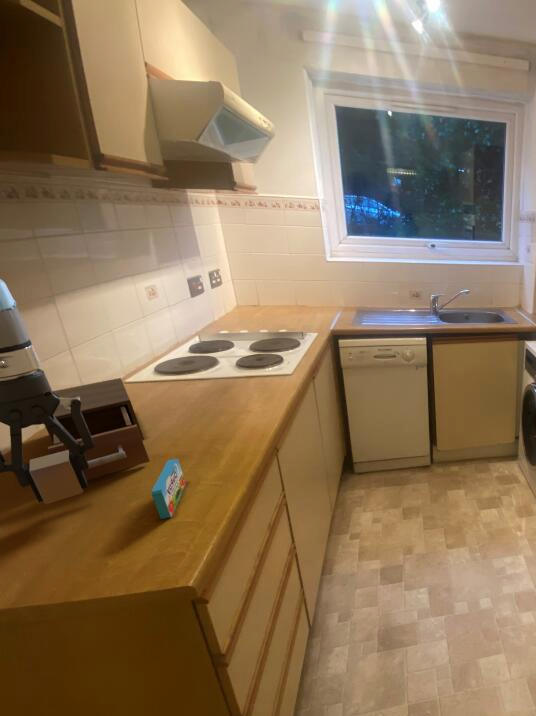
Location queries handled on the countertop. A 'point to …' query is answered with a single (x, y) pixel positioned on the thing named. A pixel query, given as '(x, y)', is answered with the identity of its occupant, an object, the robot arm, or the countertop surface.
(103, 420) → the drawer
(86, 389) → the cabinet
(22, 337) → the robot arm
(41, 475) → the block
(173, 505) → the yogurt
